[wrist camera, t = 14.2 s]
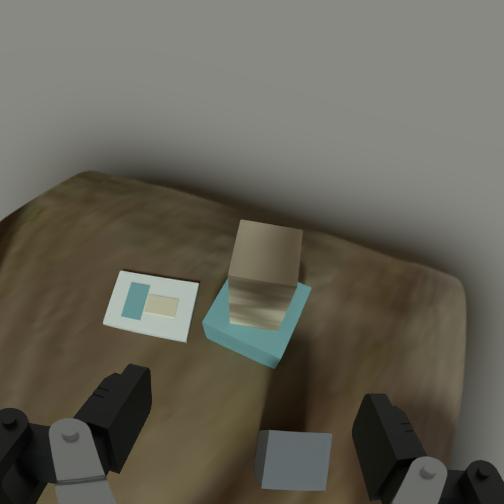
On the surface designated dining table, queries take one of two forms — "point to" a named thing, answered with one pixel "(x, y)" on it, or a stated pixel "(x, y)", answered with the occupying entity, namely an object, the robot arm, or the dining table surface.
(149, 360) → the dining table surface
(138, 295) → the card
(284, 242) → the maple block
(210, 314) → the teal base block
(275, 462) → the charcoal block
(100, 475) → the robot arm
